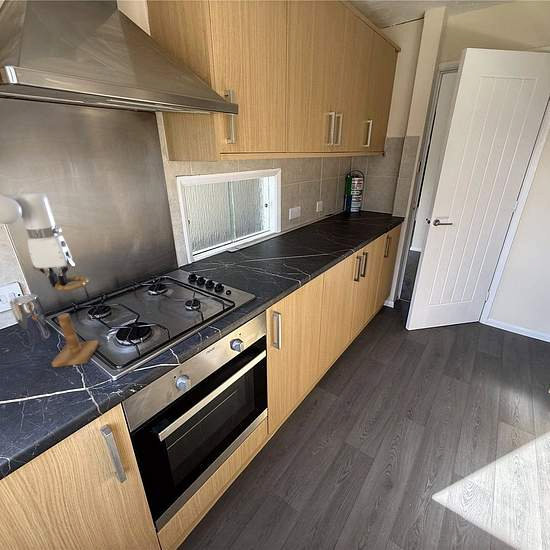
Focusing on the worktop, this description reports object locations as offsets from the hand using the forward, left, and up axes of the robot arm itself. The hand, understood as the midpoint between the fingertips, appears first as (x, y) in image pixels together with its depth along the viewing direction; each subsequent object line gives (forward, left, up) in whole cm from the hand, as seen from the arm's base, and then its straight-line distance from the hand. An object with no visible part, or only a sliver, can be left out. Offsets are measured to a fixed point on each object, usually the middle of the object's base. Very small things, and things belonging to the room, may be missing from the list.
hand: (60, 285), depth 100 cm
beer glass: (-4, -13, -13) cm, 19 cm away
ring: (+4, 0, 0) cm, 4 cm away
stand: (+11, -23, -13) cm, 29 cm away
